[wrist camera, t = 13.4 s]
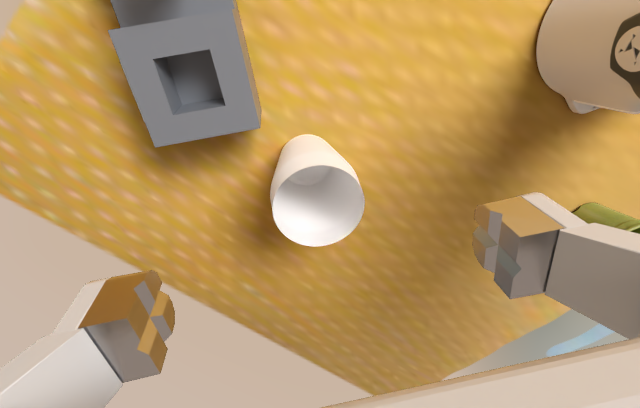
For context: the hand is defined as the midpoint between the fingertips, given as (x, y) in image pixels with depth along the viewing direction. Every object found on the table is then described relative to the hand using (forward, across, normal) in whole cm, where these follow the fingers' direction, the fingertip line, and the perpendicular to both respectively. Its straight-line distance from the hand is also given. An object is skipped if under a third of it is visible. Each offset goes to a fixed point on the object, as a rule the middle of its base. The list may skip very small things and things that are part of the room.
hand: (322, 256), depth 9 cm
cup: (+33, -1, +11) cm, 35 cm away
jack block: (+33, +8, -6) cm, 35 cm away
